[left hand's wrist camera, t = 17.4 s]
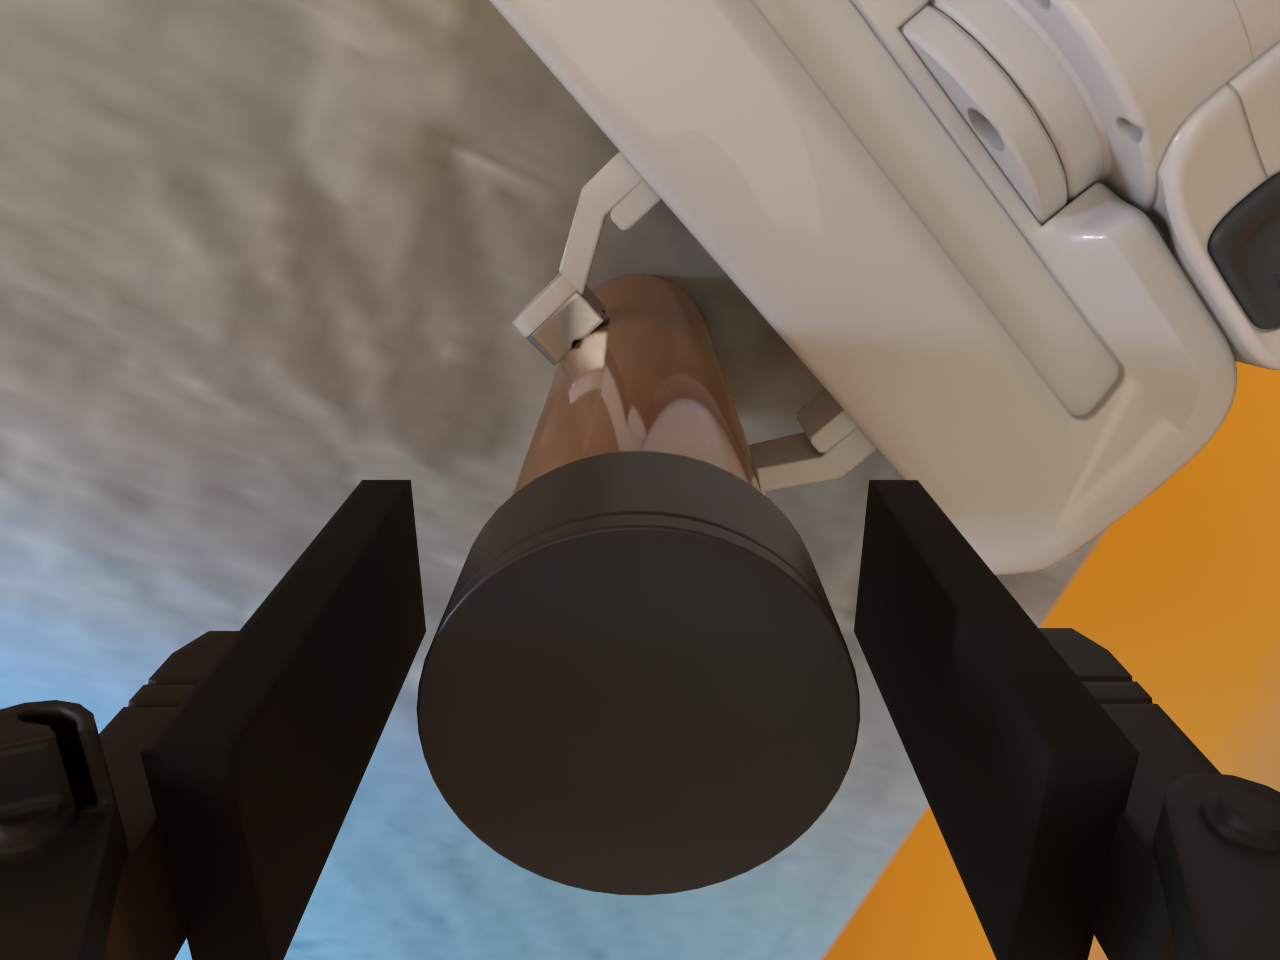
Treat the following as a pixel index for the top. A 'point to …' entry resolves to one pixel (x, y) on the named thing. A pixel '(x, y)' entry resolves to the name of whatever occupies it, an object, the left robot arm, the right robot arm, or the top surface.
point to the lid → (638, 679)
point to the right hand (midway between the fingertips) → (615, 423)
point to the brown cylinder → (641, 387)
